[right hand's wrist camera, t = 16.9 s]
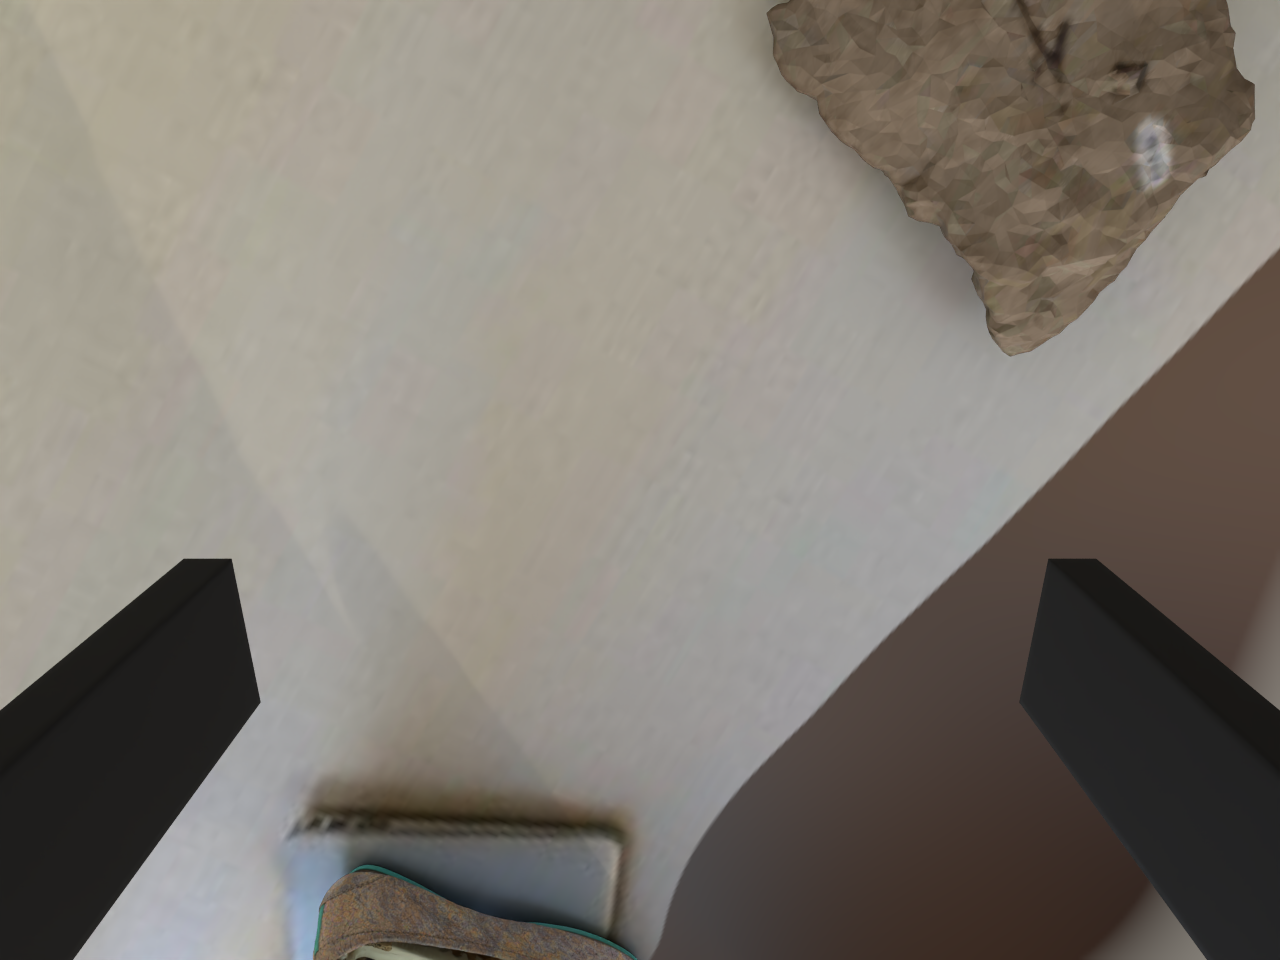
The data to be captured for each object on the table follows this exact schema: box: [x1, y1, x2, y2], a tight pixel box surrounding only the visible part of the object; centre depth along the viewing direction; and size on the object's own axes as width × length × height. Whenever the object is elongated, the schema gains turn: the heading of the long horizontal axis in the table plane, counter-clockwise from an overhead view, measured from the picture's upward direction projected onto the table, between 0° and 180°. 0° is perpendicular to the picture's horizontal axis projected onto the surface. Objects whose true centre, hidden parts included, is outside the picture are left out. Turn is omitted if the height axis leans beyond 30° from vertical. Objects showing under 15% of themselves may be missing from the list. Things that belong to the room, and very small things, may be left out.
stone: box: [767, 0, 1255, 356], centre depth 36 cm, size 21×15×6 cm
